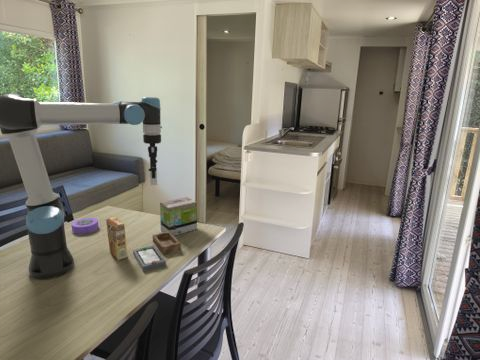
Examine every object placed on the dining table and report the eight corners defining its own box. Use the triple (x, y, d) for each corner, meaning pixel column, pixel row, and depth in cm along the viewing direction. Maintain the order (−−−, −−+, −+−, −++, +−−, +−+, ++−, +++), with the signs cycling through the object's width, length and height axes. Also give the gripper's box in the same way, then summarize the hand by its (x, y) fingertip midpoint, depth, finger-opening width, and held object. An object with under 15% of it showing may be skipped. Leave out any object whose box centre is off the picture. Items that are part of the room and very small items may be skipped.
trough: (162, 254, 139) (162, 247, 138) (152, 241, 150) (152, 234, 149) (180, 250, 143) (180, 243, 142) (169, 238, 154) (169, 231, 153)
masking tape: (74, 225, 166) (73, 218, 165) (99, 223, 169) (98, 216, 168) (70, 235, 155) (69, 228, 154) (97, 233, 158) (96, 225, 157)
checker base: (143, 271, 127) (142, 265, 126) (133, 254, 139) (132, 248, 138) (166, 265, 131) (165, 259, 131) (154, 249, 144) (154, 243, 143)
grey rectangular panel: (145, 266, 129) (145, 264, 129) (138, 254, 138) (137, 251, 138) (160, 262, 132) (160, 260, 132) (152, 251, 141) (152, 248, 141)
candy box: (128, 257, 137) (125, 222, 133) (118, 260, 134) (114, 225, 130) (118, 249, 143) (115, 216, 139) (108, 252, 140) (105, 219, 136)
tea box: (170, 238, 155) (169, 208, 151) (160, 230, 162) (159, 202, 158) (197, 229, 164) (197, 201, 160) (187, 223, 171) (186, 195, 167)
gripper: (161, 138, 134) (163, 188, 140) (160, 130, 157) (161, 173, 163) (142, 138, 132) (144, 189, 138) (143, 129, 155) (145, 173, 161)
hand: (153, 180), depth 150 cm, fingers open, 13 cm apart
